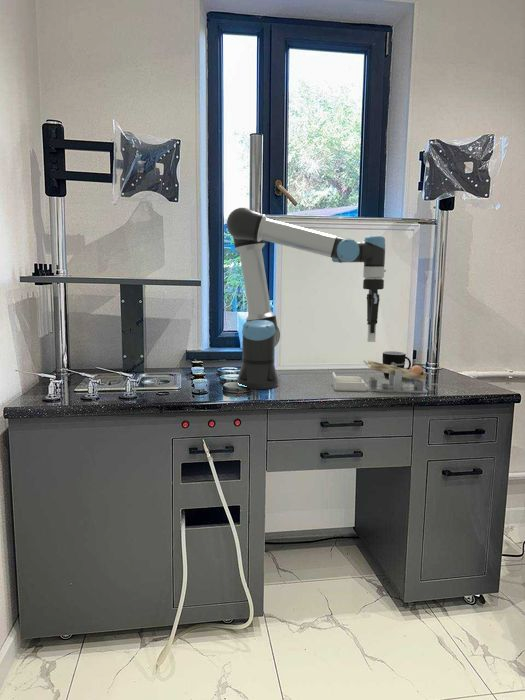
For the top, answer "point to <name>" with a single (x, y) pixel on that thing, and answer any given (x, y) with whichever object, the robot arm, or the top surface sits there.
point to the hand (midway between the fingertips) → (371, 341)
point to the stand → (396, 384)
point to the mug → (395, 360)
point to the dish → (348, 383)
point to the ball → (416, 370)
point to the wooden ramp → (392, 369)
